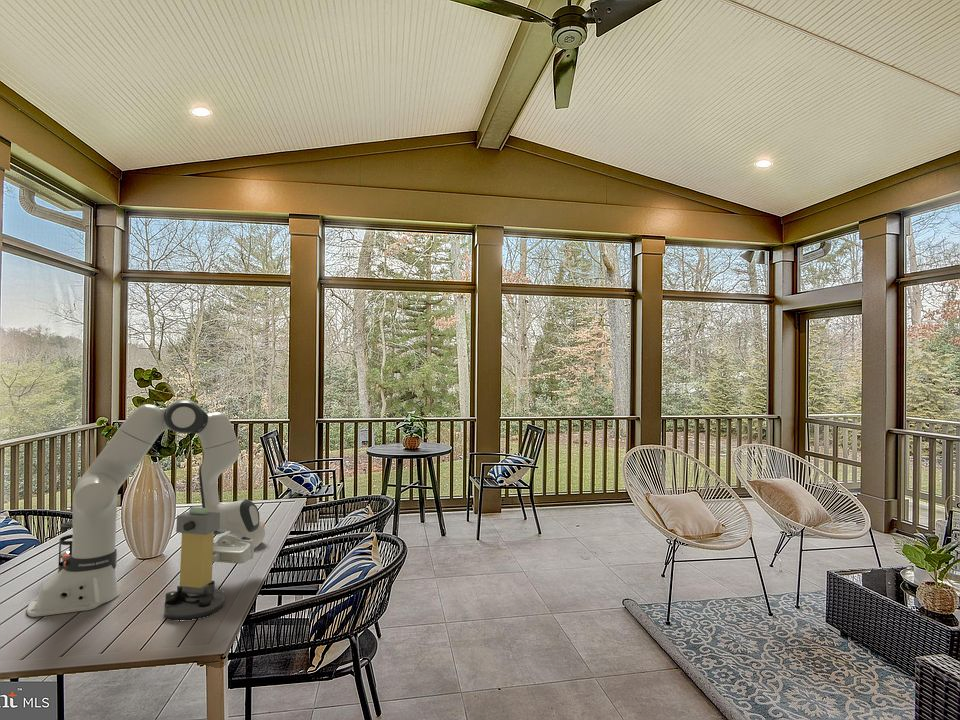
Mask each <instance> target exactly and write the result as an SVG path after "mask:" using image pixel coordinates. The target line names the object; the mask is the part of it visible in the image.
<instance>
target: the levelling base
mask: <svg viewBox="0 0 960 720" xmlns="http://www.w3.org/2000/svg"><path fill="white" fill-rule="evenodd" d="M215 584H216V581H215V580H212V582H210V583H209V584H208V585H209V586H208V587H206V588H205V589H204V595H197V594H187V593H182V586H180V584H178V585H177V586H176V587H177V588H176V589H177V591H175V590H174V591H173V590H172V591H168V592H166V593H165V599H164V601H165V602H164V605H163V607H164V608H163V611H164V612H163V616H164V618H166V620H169V619H170V620H169V621H172V620H179V621H178V622H181V621H180V620H192V619H198V618H202V619H204V618H203V617H205V618H208V617H210V615H211V616H213V615H215V614H217V613H219V612H220V611H221V610H223V608H224V606H225V592H224V591H223V589H222V590H221V589H219V588H215V586H216V585H215ZM218 611H219V612H218ZM216 612H217V613H216ZM214 613H215V614H214ZM212 614H213V615H212ZM207 616H208V617H207ZM198 620H199V619H198ZM192 621H193V620H192Z"/></svg>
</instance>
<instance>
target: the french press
mask: <svg viewBox="0 0 960 720" xmlns="http://www.w3.org/2000/svg"><path fill="white" fill-rule="evenodd" d="M69 509H70V510H71V509H72V510H73V505H72V506H70V507H69ZM59 527H60V528H61V532H62V533H65V532H66V531H68V530H70V529H73V520H70V521H65V522H63V523H60V525H59ZM72 537H73V533H72V534H68V535H63V536H62V537H60V538H59V544H58V565H57V568H58V569H57V570H58V571H57V573H58V572H60V571H61V570H62V569H63V561H62V558H63V556H64V555H65V554H69V555H72V540H69V539H72ZM62 545H63V546H69V549H68V550H67V551H64V552H62Z"/></svg>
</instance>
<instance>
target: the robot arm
mask: <svg viewBox="0 0 960 720" xmlns="http://www.w3.org/2000/svg"><path fill="white" fill-rule="evenodd" d="M167 430H171V431H173V432H174V433H178V434H196V435H197V436H198V439H199V442H200V444H201V448H202V451H203V461H202V463H201V464H200V466H199V469H198V480H199V489H200V498H201V508H208V509H209V512H217V513H220V528H219V529H218V530H216V531H214V536H217V535H221V534H224V535H222V536H220V537H219V538H218V539H217V540H216V542H213V563H228V564H238V565H239V564H245V563H246V562H248V561H250V560H252V559H254V554H255V548H257V547H258V546H259V545H260V544H261V543H262V542H263V540H264V538H265V535H266V530H265V527H263V525H262V524H261V523H260V522H261V521H260V512H259V509H258V507H257V505H256V504H255V502H253V501H252V500H250V499H247V498H245V499H241V500H236V501H232V502H227V503H221V502H220V497H219V496H220V495H219V489H218V479H219V477H220V475H221V474H222V473H223V472H225V471H226V470H227V469H229V468H230V467H232V466H233V465H234V464H235V463H236V462H237V460H238V459H239V457H240V456H239V455H240V445H239V442H238V438H237V436H236V432H235V429H234V427H233V424H232V422H231V420H230V419H229V417H228V415H227V414H226V413H223V412H219V411H214V412H209V413H206V411H205V410H203V409H202V408H201V406H200V405H199V404H198V403H197V402H196V401H194V400H192V399H186V398H185V399H178V400H176V401H174V402H172V403H171V404H169V405H166V406H165V407H163V408H162V407H159V406H157V405H155V404H149V403H147V404H145V403H144V404H142V405H140V406H138V407H137V408H136V409H135V410H133V412H132V413H130V415H129V416H127V418H126V419H125V420H124V421H123V422H122V423H121V425H120V426H119V428H118V429H117V430H116V431H115V433H114V435H112V437H111V438H110V440H109V441H108V442H107V443H106V444H105V447H104V448H103V449H102V451H100V453H99V454H98V455H97V456H96V458H95V459H94V460H93V462H92V463H91V464H90V465H89V466H88V467H87V469H86V471H85V472H84V473H83V475H82V476H81V477H80V478H79V480H78V481H77V483H76V486H75V488H74V491H73V493H72V506H73V509H72V521H73V528H72V534H73V537H72V538H71V539H72V540H71V541H72V555H69V554H65V555H64V556H63V558H61V562H62V561H63V569H62V570H61V571H60V572H58V571H57V573H55V575H52V577H50V578H49V579H47V580H46V581H45V582H44V583H43V584H42V585H41V587H40V589H39V591H38V594H37V597H36V598H34V599H33V600H32V601H30V602H29V604H28V606H27V608H26V614H27V616H29V617H31V618H36V617H37V618H38V617H44V616H50V615H60V614H66V613H75V612H76V613H77V612H82V611H89V610H90V611H91V610H93V609H96V608H98V607H99V606H101V605H103V604H105V603H106V604H107V603H108V602H111V601H112V600H114V599H116V598H117V597H118V596H119V595H120V594H121V593H120V592H121V591H120V590H119V586H118V581H117V574H116V573H117V572H116V567H117V565H118V552H117V551H118V549H116V544H117V543H116V540H117V539H116V537H117V536H116V535H117V516H118V515H117V512H118V511H117V510H118V509H117V508H118V492H119V490H120V488H121V487H122V485H123V484H124V483H125V481H126V480H127V479H128V478H129V477H130V475H131V474H132V473H133V472H134V470H136V468H137V467H138V466H139V465H140V463H141V462H142V460H143V459H144V457H145V456H146V455H147V453H148V452H149V450H150V449H151V448H152V446H154V443H155V442H156V440H158V438H159V436H160V435H161V434H163V432H164V431H167ZM226 532H227V533H226ZM225 533H226V534H225Z"/></svg>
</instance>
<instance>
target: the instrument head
mask: <svg viewBox="0 0 960 720" xmlns="http://www.w3.org/2000/svg"><path fill="white" fill-rule="evenodd" d="M188 510H189V511H186V512H183V513H181V514H178V515H176V528H175V529H176V531H175V532H176V533H180V534H181V541H180V542H181V547H180V565H179V566H180V569H179V570H180V571H179V585H180V586H182V593H187V594H197V595H204V589H205V588H206V587H208V586H209V585H208V584H209V583H210V582H212V581H213V580H212V579H213V563H214V562H213V543H214V539H215V537H214V536H215V535H214V531H216V530H218V529H219V528H220V513H217V512H209V509H208V508H202V507H200V506H199V507H198V506H197V507H196V506H192V507H190V508H189V509H188Z"/></svg>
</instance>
